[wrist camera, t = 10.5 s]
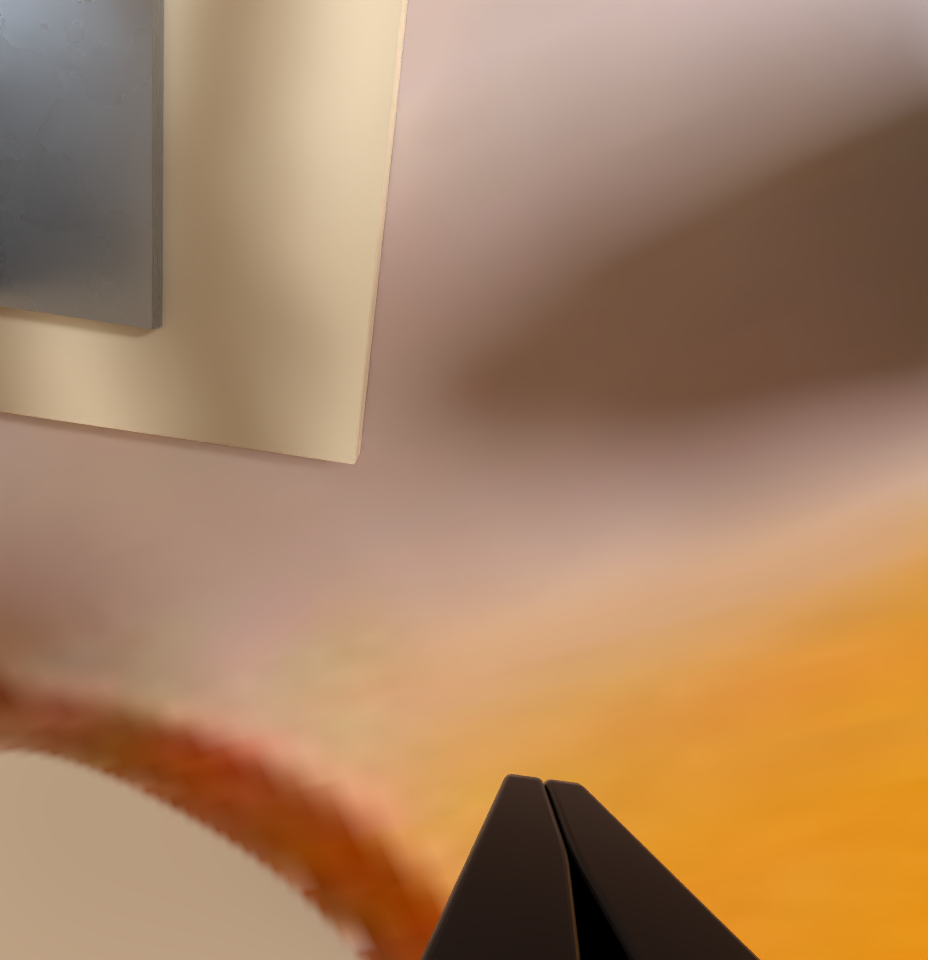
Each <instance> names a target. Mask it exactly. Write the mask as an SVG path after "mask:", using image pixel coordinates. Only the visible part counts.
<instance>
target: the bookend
mask: <svg viewBox="0 0 928 960" xmlns="http://www.w3.org/2000/svg"><path fill="white" fill-rule="evenodd" d="M163 112H164V0H0V306H3V307H9V308H16V309H23V310H29V311H36V312H42V313H49V314H55V315H62V316H68V317H75V318H81V319H88V320H94V321H101V322H107V323H114V324H120V325H127V326H133V327H140V328H146V329H155V328H159V327H162V295H163Z"/></svg>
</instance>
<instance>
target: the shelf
mask: <svg viewBox="0 0 928 960" xmlns="http://www.w3.org/2000/svg"><path fill="white" fill-rule="evenodd" d="M407 5H408V0H164V112H163V295H162V327H159V328H155V329H146V328H140V327H133V326H127V325H120V324H114V323H107V322H101V321H94V320H88V319H81V318H75V317H68V316H62V315H55V314H49V313H42V312H36V311H29V310H23V309H16V308H9V307H3V306H0V412H5V413H11V414H18V415H25V416H32V417H38V418H45V419H52V420H58V421H65V422H72V423H79V424H85V425H92V426H99V427H105V428H112V429H119V430H126V431H132V432H139V433H146V434H153V435H159V436H166V437H173V438H179V439H186V440H193V441H200V442H206V443H213V444H220V445H226V446H233V447H240V448H247V449H253V450H260V451H267V452H273V453H280V454H287V455H294V456H300V457H307V458H314V459H321V460H327V461H334V462H341V463H347V464H355V462H356V460H357V459H358V457H359V455H360V450H361V440H362V431H363V421H364V412H365V402H366V393H367V384H368V374H369V365H370V355H371V346H372V336H373V327H374V317H375V308H376V298H377V289H378V279H379V270H380V261H381V251H382V242H383V232H384V223H385V213H386V204H387V194H388V185H389V175H390V166H391V156H392V147H393V137H394V128H395V119H396V109H397V100H398V90H399V81H400V71H401V62H402V52H403V43H404V33H405V24H406V14H407Z"/></svg>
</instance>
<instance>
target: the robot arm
mask: <svg viewBox="0 0 928 960" xmlns="http://www.w3.org/2000/svg"><path fill="white" fill-rule="evenodd" d="M421 960H760V959H759V958H758V957H757V956H756V955H755V954H754V953H753V952H752V951H751V950H750V949H749V948H748V947H746V946H745V945H744V944H743V943H742V942H741V941H740V940H739V939H738V938H737V937H736V936H735V935H734V934H733V933H732V932H731V931H730V930H729V929H728V928H727V927H726V926H725V925H724V924H723V923H722V922H721V921H720V920H719V919H718V918H717V917H716V916H715V915H714V914H713V913H712V912H711V911H710V910H709V909H708V908H707V907H706V906H705V905H704V904H703V903H702V902H701V901H700V900H699V899H698V898H697V897H696V896H695V895H694V894H693V893H691V892H690V891H689V890H688V889H687V888H686V887H685V886H684V885H683V884H682V883H681V882H680V881H679V880H678V879H677V878H676V877H675V876H674V875H673V874H672V873H671V872H670V871H669V870H668V869H667V868H666V867H665V866H664V865H663V864H662V863H661V862H660V861H659V860H658V859H657V858H656V857H655V856H654V855H653V854H652V853H651V852H650V851H649V850H648V849H647V848H646V847H645V846H644V845H643V844H642V843H641V842H640V841H639V840H637V839H636V838H635V837H634V836H633V835H632V834H631V833H630V832H629V831H628V830H627V829H626V828H625V827H624V826H623V825H622V824H621V823H620V822H619V821H618V820H617V819H616V818H615V817H614V816H613V815H612V814H611V813H610V812H609V811H608V810H607V809H606V808H605V807H604V806H603V805H602V804H601V803H600V802H599V801H598V800H597V799H596V798H595V797H594V796H593V795H592V794H591V793H590V792H589V791H588V790H587V789H586V788H584V787H583V786H582V785H580V784H578V783H574V782H566V781H559V780H547V781H545V782H544V783H543V781H542V780H541V779H539V778H536V777H529V776H521V775H514V774H509V775H507V776H506V777H505V778H504V780H503V782H502V785H501V787H500V789H499V791H498V793H497V795H496V798H495V800H494V802H493V804H492V806H491V808H490V811H489V813H488V815H487V817H486V819H485V821H484V824H483V826H482V828H481V830H480V832H479V834H478V836H477V839H476V841H475V843H474V845H473V847H472V849H471V852H470V854H469V856H468V858H467V860H466V862H465V865H464V867H463V869H462V871H461V873H460V875H459V878H458V880H457V882H456V884H455V886H454V888H453V890H452V893H451V895H450V897H449V899H448V901H447V903H446V906H445V908H444V910H443V912H442V914H441V916H440V919H439V921H438V923H437V925H436V927H435V929H434V931H433V934H432V936H431V938H430V940H429V942H428V944H427V947H426V949H425V951H424V953H423V955H422V957H421Z"/></svg>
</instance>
